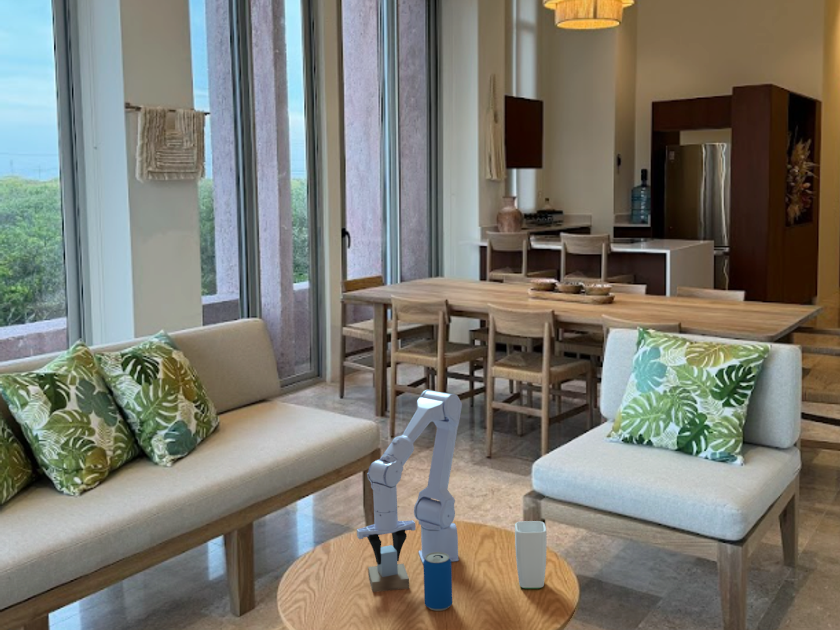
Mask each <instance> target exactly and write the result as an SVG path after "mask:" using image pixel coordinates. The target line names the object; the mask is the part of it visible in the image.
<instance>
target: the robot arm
mask: <svg viewBox="0 0 840 630" xmlns="http://www.w3.org/2000/svg"><path fill="white" fill-rule="evenodd" d="M462 407H463V403H462V401H461V400H460V397H459V396H458V395H457V394H456V393H448V392H442V391H434V390H431V389H426V390H423V391H422V392H421V393H420V396H419V398H418V399H417V401H416V411H415V413H414V414H413V416H412V418H411V419H410V421H409V423H408V424H407V426H406V428H405V430H404V431H403V433H402V434H401V435H398V436H395V437H394V438H393V439H392V440H391V442H390V444H389V445H388V446H387V447H386V450H385V451H383V454H382V455H381V456H380V458H379V459H376V460H375V461H373V462H371V464H370V465H369V467H368V470H367V471H368V472H367V473H366V475H367V480H368V481H369V482H370V488H371V489H372V494H373V495H372V496H373V497H372V498H373V516H374V517H373V518H374V522H373V524H370V525H367V526H364V527H361V528H356V537H357V538H358V540H363V539H364V538H367V540H368V542H369V543H370V545H371V549H372V550H373V554H374V557H375V562H376V565H377V564H378V565H380V564H381V547H382V540H381V539H380V535H381V536H382V535H387V534H388V535H389V534H391V538H392V546H393V547H394V548H395V549H396V551H397V562H399V561H400V556H401V555H400V554H401V550H402V547H403V545H404V544H405V541H406V540H407V535H408V534H407V533H406V531H416V522H415V521H414V520H413V519H412V520H398V519H399V517H398V495H397V494H398V491H397V489H398V488H397V485H398V484H399V482H400V481H401V478H402V473H403V470H404V466H405V464H406V463H407V461H408V460H409V458H410V457H411V455H413V452H414V450H415V448H414V447H415V446H414V443H415V442H416V440H417V439H418V438H419V437H420V436H421V434H422V433H423V432H424V431H425V429H426V428H427V427H428V426H429V424H430V423H431V422H433V424H434V425H435V427H436V433H435V439H434V446H433V451H432V457H431V461H430V462H431V463H430V468H429V475H428V481H427V486H426V487H425V488H423V489H422V490H421V491H419V492H418V498H417V499H416V502H415V504H414V507H413V515H414V517H415V519H416V520H417V521H418V525H419V526H420V534H421V535H420V537H421V539H420V541H421V550H420V549H419V550H418V555H419V557H420V560H421V563H422V564H423V562H424V560H425V556H426V555H427V554H429V553H433V552H442V553H446V554H448V555H449V559H450V560H451V563H452V562H458V561H459V559H460V558H459V540H458V539H459V536H458V528H457V524H456V523H454V520H455V516H456V515H455V514H456V509H455V501H456V500H455V498H454V496H453V495H452V494H451V492H449V482H450V476H451V470H452V464H453V460H454V459H453V458H454V452H455V448H456V447H455V446H456V440H457V433H458V428H459V424H460V420H461V419H460V418H461V412H462Z"/></svg>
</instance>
